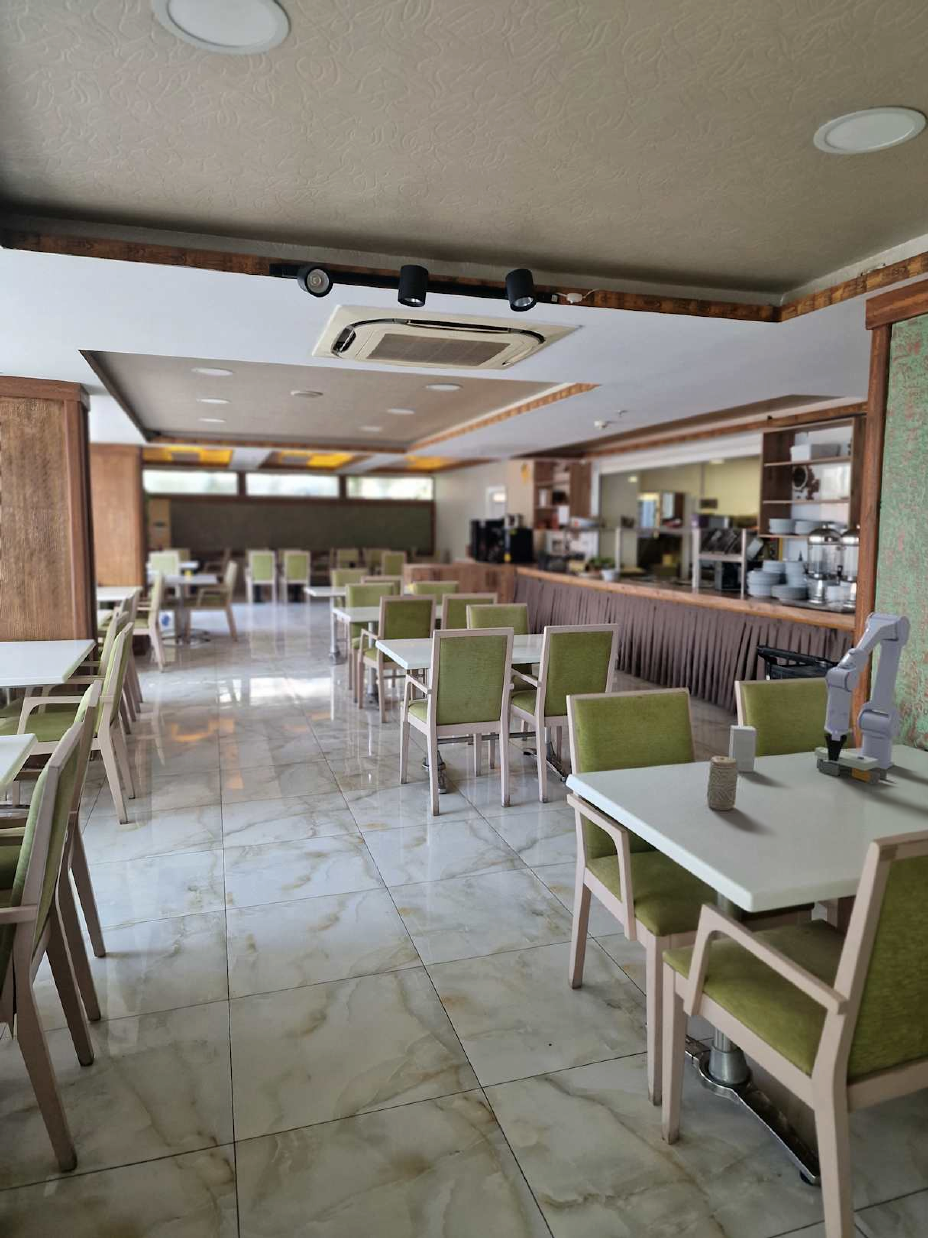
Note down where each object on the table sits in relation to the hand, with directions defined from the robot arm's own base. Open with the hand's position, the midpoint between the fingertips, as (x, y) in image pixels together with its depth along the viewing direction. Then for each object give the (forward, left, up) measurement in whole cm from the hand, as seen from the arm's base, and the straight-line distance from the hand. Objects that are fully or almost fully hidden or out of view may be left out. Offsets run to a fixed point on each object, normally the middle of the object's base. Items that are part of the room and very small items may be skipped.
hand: (832, 760), depth 210 cm
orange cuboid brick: (-5, +7, -5) cm, 10 cm away
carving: (+47, -9, -5) cm, 49 cm away
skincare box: (+14, -19, -5) cm, 25 cm away
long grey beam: (-6, +4, -4) cm, 8 cm away
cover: (-5, +1, -4) cm, 6 cm away
